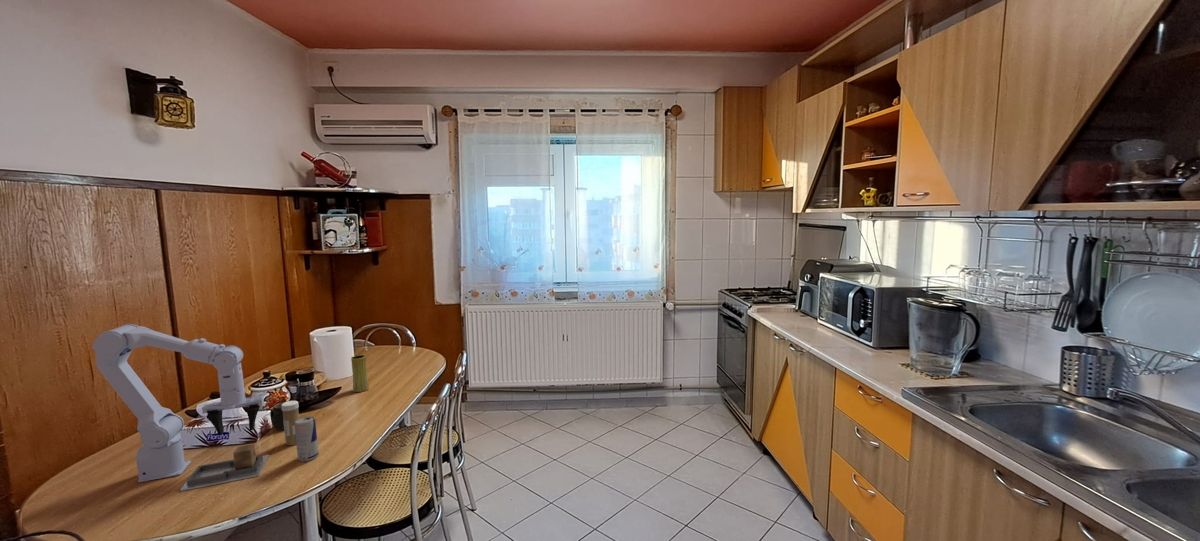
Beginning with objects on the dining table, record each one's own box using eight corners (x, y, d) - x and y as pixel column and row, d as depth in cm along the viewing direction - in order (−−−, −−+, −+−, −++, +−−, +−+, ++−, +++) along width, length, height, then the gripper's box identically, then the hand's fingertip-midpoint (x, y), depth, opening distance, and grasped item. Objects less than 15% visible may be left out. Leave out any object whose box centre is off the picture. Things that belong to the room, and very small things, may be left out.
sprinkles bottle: (302, 443, 152) (298, 403, 150) (285, 447, 149) (281, 406, 148) (301, 437, 156) (297, 398, 154) (285, 441, 153) (281, 402, 152)
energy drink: (322, 452, 146) (318, 415, 144) (312, 461, 140) (308, 423, 139) (304, 453, 146) (300, 416, 144) (294, 462, 140) (290, 424, 139)
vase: (354, 388, 199) (351, 355, 198) (370, 386, 201) (367, 353, 199) (351, 393, 194) (348, 359, 192) (367, 391, 196) (365, 358, 194)
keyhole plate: (180, 491, 126) (179, 485, 126) (197, 469, 137) (196, 463, 137) (258, 476, 133) (258, 470, 133) (269, 456, 144) (268, 450, 144)
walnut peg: (235, 472, 134) (233, 453, 133) (240, 466, 138) (237, 446, 137) (252, 469, 136) (250, 450, 135) (256, 462, 139) (254, 443, 139)
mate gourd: (270, 426, 164) (268, 398, 163) (296, 420, 169) (293, 393, 168) (273, 433, 159) (271, 405, 158) (299, 426, 164) (297, 399, 163)
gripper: (195, 396, 133) (201, 442, 135) (257, 388, 138) (262, 432, 140) (205, 388, 139) (210, 431, 141) (263, 380, 145) (268, 422, 147)
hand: (236, 431), depth 141 cm, fingers open, 7 cm apart
